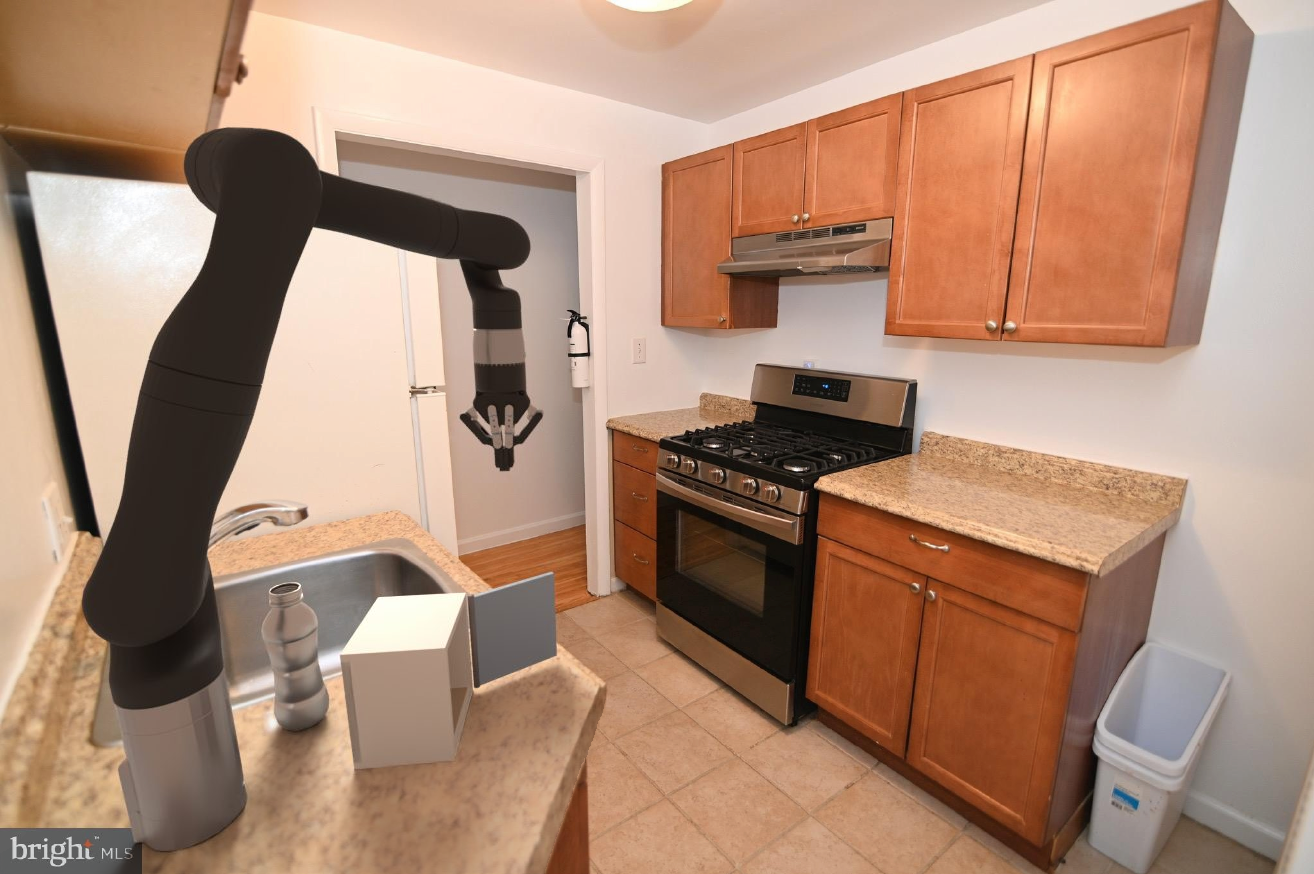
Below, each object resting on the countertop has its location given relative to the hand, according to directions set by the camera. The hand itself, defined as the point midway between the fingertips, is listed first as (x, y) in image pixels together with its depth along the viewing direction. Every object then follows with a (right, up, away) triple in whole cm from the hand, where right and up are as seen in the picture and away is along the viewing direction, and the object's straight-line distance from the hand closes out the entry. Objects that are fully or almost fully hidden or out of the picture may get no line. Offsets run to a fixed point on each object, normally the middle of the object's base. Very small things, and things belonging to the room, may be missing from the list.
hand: (505, 469), depth 93 cm
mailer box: (-9, -34, -12) cm, 37 cm away
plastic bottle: (-25, -34, -11) cm, 44 cm away
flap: (+2, -31, -1) cm, 31 cm away
